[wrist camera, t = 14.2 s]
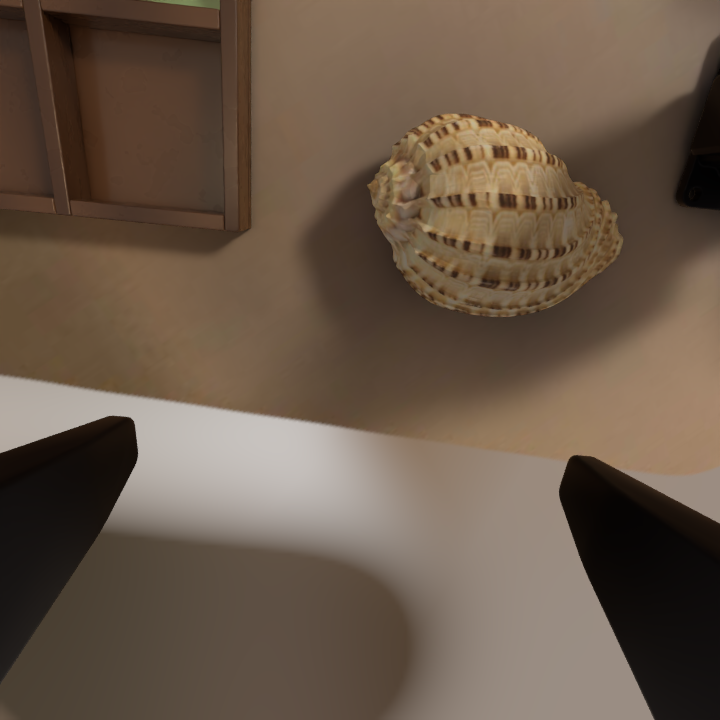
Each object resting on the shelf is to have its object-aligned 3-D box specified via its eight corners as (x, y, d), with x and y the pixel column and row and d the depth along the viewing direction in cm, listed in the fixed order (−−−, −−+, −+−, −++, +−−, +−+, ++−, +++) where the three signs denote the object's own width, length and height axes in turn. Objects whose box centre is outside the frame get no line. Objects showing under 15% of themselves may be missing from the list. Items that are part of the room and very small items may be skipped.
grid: (251, -219, 14) (234, -281, 12) (251, 228, 19) (239, 232, 17) (-193, -276, 13) (-279, -348, 11) (-70, 196, 18) (-116, 197, 17)
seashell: (541, 129, 20) (341, 125, 16) (679, 103, 15) (433, 87, 11) (524, 294, 22) (352, 324, 19) (635, 321, 17) (428, 369, 14)
